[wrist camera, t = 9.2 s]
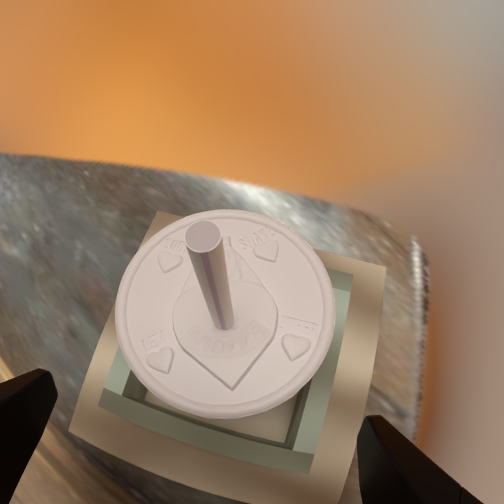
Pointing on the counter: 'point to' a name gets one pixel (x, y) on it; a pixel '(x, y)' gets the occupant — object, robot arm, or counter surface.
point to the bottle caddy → (254, 427)
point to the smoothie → (225, 314)
